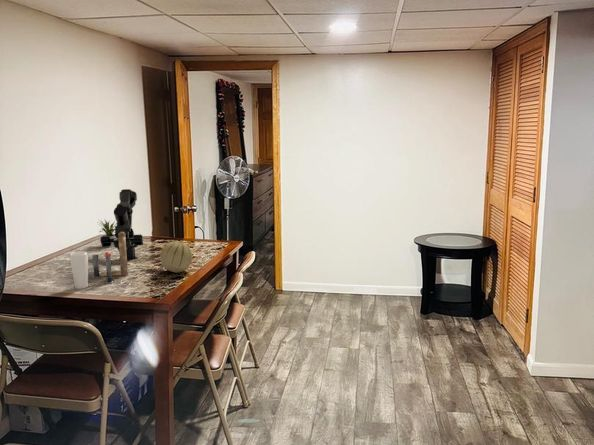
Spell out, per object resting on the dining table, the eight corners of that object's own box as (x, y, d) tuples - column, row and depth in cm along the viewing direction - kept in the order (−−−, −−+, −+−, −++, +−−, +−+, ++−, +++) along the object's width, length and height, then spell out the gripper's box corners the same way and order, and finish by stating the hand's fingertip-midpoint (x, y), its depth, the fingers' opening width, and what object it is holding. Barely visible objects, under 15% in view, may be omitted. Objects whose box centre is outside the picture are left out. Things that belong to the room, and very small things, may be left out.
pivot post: (97, 274, 241) (96, 253, 239) (104, 276, 238) (102, 255, 237) (89, 276, 237) (87, 255, 235) (95, 278, 235) (94, 257, 233)
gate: (100, 276, 237) (97, 233, 233) (101, 274, 240) (98, 231, 236) (127, 275, 239) (124, 232, 235) (128, 273, 242) (125, 230, 238)
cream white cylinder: (76, 285, 226) (73, 251, 223) (92, 284, 226) (89, 251, 223) (70, 290, 219) (67, 255, 216) (87, 289, 220) (84, 255, 217)
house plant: (88, 248, 289) (86, 219, 286) (104, 242, 302) (102, 214, 299) (110, 250, 285) (108, 220, 282) (125, 244, 298) (124, 216, 295)
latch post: (110, 280, 233) (108, 250, 230) (116, 281, 230) (114, 251, 228) (102, 282, 229) (100, 252, 227) (108, 284, 227) (106, 253, 224)
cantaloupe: (154, 272, 244) (152, 241, 241) (177, 265, 256) (176, 235, 253) (176, 278, 236) (175, 246, 233) (199, 270, 248) (198, 239, 245)
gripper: (99, 219, 241) (97, 247, 233) (141, 217, 245) (140, 246, 237) (103, 232, 251) (101, 260, 242) (143, 230, 254) (143, 258, 246)
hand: (121, 256), depth 241 cm, fingers closed
